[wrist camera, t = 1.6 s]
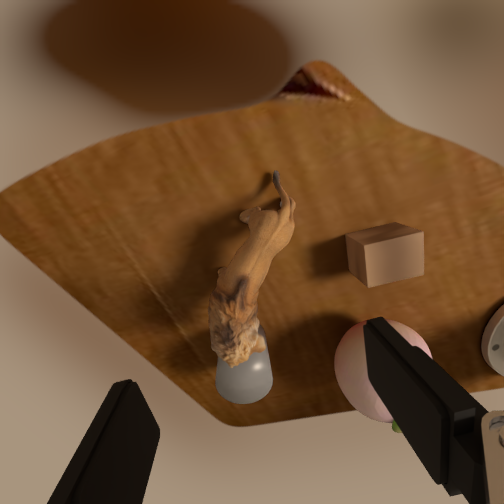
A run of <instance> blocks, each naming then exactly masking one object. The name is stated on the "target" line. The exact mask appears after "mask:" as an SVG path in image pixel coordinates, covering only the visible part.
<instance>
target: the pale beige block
mask: <svg viewBox="0 0 504 504" xmlns="http://www.w3.org/2000/svg"><path fill="white" fill-rule="evenodd" d="M345 239H346V247H347V256H348V264H349V271H350V272H351V273H352V274H353V275H354V276H355V277H357V278H358V279H359V280H360V281H361V282H362V283H363V284H364V285H365V286H367V287H368V288H369V287H374V286H378V285H382V284H387V283H391V282H395V281H399V280H404V279H408V278H412V277H416V276H421V275H424V231H421V230H418V229H414V228H411V227H408V226H405V225H402V224H399V223H396V222H394V223H390V224H386V225H382V226H377V227H373V228H369V229H365V230H361V231H356V232H352V233H348V234H345Z"/></svg>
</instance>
